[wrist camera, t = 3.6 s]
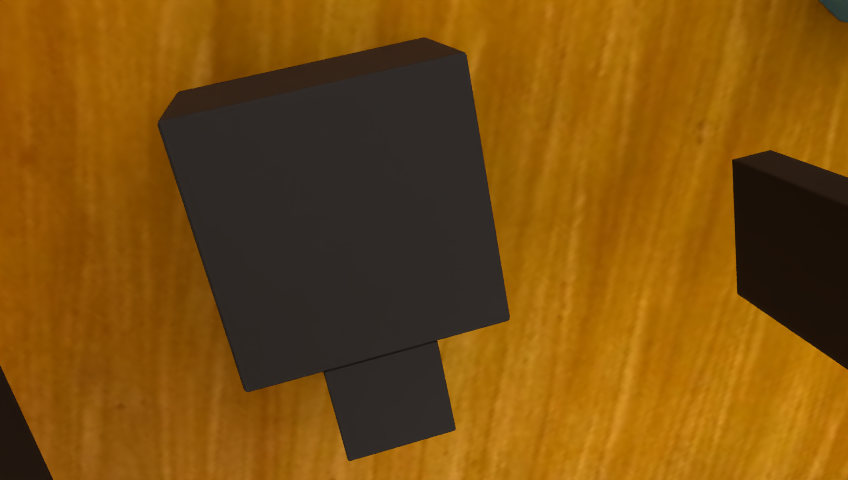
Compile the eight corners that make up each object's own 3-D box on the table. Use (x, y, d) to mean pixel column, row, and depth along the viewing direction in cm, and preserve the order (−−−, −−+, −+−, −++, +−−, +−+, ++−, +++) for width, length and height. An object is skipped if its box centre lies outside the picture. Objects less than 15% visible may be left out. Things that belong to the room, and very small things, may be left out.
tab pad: (271, 396, 24) (274, 484, 20) (176, 91, 20) (155, 121, 16) (481, 338, 25) (526, 410, 20) (426, 36, 21) (466, 51, 17)
